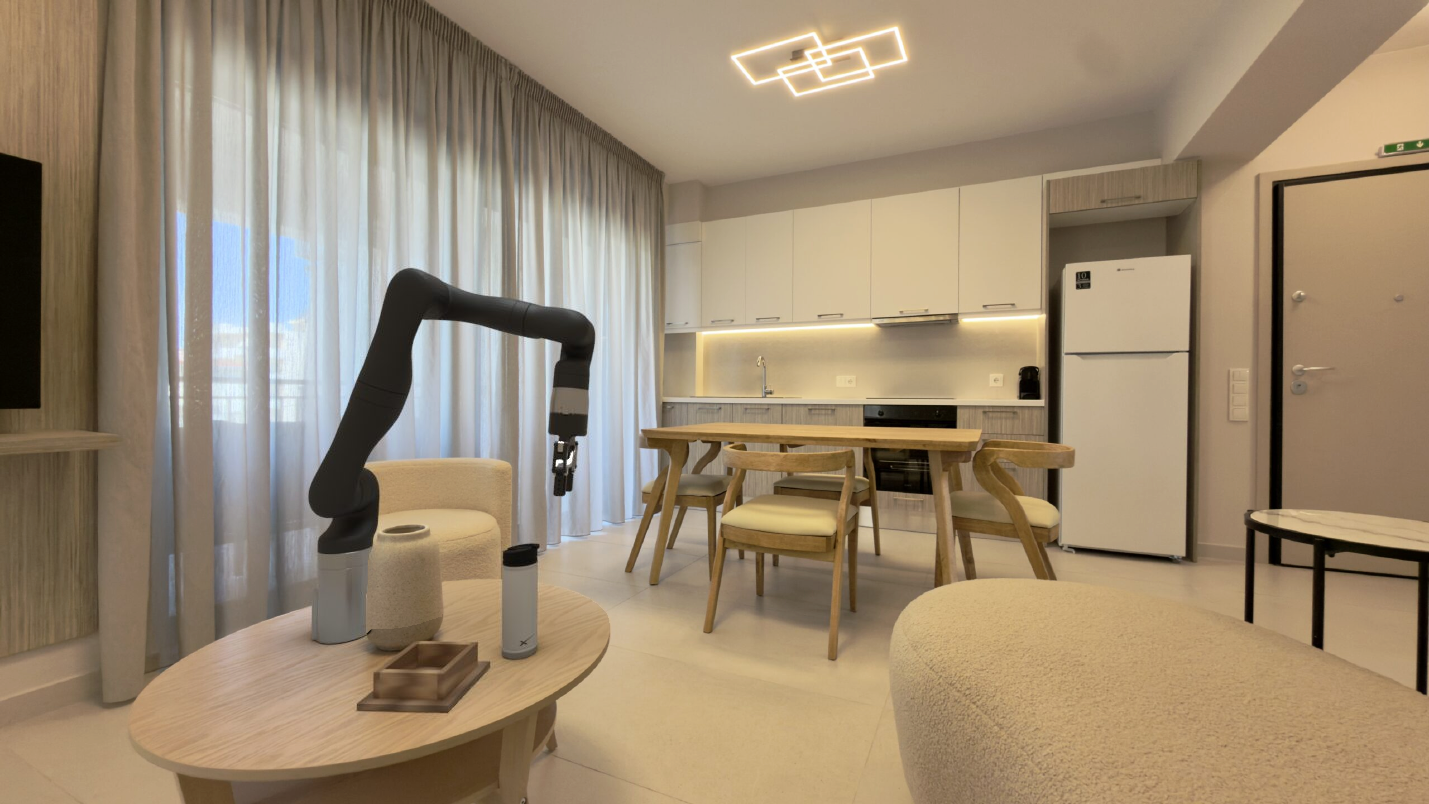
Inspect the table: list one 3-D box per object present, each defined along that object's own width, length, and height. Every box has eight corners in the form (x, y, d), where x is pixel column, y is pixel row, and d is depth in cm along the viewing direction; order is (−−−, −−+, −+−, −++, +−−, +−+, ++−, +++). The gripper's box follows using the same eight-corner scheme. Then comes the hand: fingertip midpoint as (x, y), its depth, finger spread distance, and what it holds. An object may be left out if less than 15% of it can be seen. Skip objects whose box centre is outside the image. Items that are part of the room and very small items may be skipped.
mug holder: (356, 710, 81) (357, 676, 81) (412, 665, 95) (412, 637, 95) (448, 712, 80) (448, 678, 81) (490, 667, 94) (490, 638, 95)
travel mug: (532, 660, 97) (532, 549, 97) (495, 659, 97) (496, 548, 97) (543, 644, 103) (544, 540, 104) (509, 644, 104) (510, 540, 104)
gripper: (556, 412, 114) (550, 489, 113) (542, 409, 100) (535, 496, 99) (592, 414, 115) (586, 491, 114) (583, 411, 101) (577, 498, 100)
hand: (563, 493), depth 106 cm, fingers open, 8 cm apart
